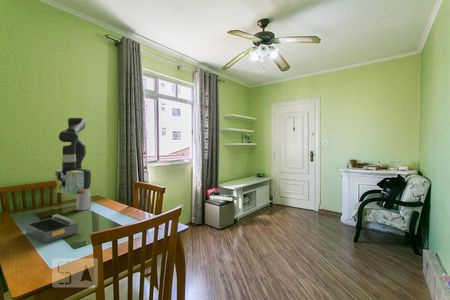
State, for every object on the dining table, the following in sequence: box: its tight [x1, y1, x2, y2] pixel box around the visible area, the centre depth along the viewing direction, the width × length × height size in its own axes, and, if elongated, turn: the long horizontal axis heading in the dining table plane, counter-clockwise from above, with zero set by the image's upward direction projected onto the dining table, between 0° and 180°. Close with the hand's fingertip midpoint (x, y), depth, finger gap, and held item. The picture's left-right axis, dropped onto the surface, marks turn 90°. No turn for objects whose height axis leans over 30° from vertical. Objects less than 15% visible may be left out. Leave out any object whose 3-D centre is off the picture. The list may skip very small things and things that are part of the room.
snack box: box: [55, 169, 84, 196], centre depth 141 cm, size 21×6×15 cm, turn 70°
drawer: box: [25, 213, 79, 245], centre depth 126 cm, size 16×26×8 cm, turn 60°
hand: (69, 185), depth 141 cm, fingers closed on snack box, 6 cm apart
